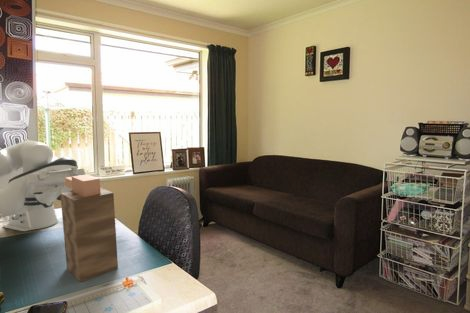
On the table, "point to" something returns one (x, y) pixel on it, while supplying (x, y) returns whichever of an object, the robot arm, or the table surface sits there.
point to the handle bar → (84, 185)
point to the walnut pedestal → (89, 233)
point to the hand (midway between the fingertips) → (61, 170)
